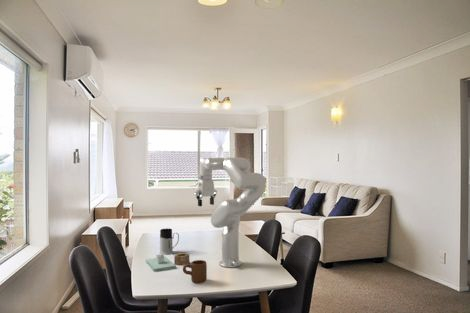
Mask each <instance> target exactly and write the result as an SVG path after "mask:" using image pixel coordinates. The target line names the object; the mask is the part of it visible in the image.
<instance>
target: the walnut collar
mask: <svg viewBox="0 0 470 313" xmlns="http://www.w3.org/2000/svg"><path fill="white" fill-rule="evenodd" d="M173 261H174V265H175V266H176V265H177V266H184V265H186V264H190V253H186V252H185V253H183V252H179V253H177V254H175V255H174V260H173Z"/></svg>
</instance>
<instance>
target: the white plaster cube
mask: <svg viewBox="0 0 470 313" xmlns="http://www.w3.org/2000/svg"><path fill="white" fill-rule="evenodd" d="M164 257H165V255H163V254H156V256H155V258H156V262H157V263H158V264H160V263H164Z"/></svg>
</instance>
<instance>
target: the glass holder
mask: <svg viewBox="0 0 470 313" xmlns="http://www.w3.org/2000/svg"><path fill="white" fill-rule="evenodd" d="M159 232H160V234H159V255H161V254H163V255H164V256H166V255H172V254H174V251H173V249H174V248H175V247H176V246H177V245H178V243H179V241H180V235H179V233H178V232H173V229H172V228H161V229H160V231H159ZM175 234H176V235H177V242H176V243H175V245H174V246H173V239H174V237H175V236H174V235H175Z"/></svg>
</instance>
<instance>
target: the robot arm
mask: <svg viewBox="0 0 470 313" xmlns="http://www.w3.org/2000/svg"><path fill="white" fill-rule="evenodd" d="M250 169H251V162H250V160H248V159H247V158H245V157H229V156H228V157H203V158H200V159H199V176H198V179H199V180H198V187H197V190H196V191H195V192H194V196H195V198H196V200H197V207H202V206H203V200H202V199H203V197H204V198H205V197H210V198H209V205H211V206H214V205H215V198H216V195H217V192H218V191H217V190H216V189H215V183H214V179H213V171H225V172H226V173H227V176H229V178H230V180H231V181H232V183H233V184H234V186H235V187H236V188H238V190H239V189H240V190H242V191H243V190H244V191H243V192H242V193H241V194H240V195H239V196H238V197H237V198H232V199H231V198H230V199H226V200H224V201H222V202H221V203H220V204H219V205H218V206H217V208H216V209H215V210H214V211H213V212H212V214H211V216H210V223H211V225H212V226H213V227H214V228H216V229H219V228H220V229H222V232H221V260H220V261H219V266H221V267H223V268H238V267H240V266H241V265H242V261H241V260H239V258H240V256H239V254H240V253H239V252H240V251H239V250H240V249H239V247H240V246H239V245H240V244H239V232H240V231H239V228H240V223H241V216H243V215H245V214H246V213H247V212H248V211H249V210H250V208H252V207H253V205H254V204H256V202H258V200H259V199H261V197H262V196H263V195H264V193H265V190H266V187H267V182H266V177H265V176H264V175H263V174H262V173H259V172H248V171H250Z"/></svg>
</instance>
